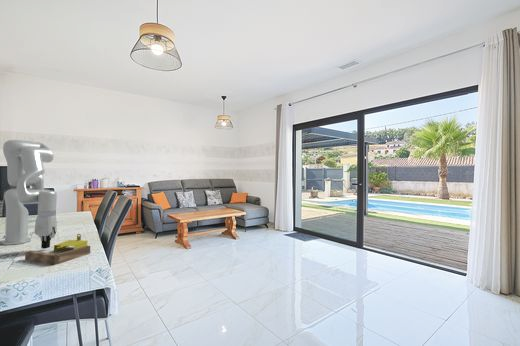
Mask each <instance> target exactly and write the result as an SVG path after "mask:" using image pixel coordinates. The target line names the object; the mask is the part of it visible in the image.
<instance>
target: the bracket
mask: <svg viewBox="0 0 520 346" xmlns="http://www.w3.org/2000/svg"><path fill="white" fill-rule="evenodd" d="M84 246H88V240H84V239H83V240H82V235H81V233H77V235H76V240H75V239H72V240H71V239H69V240H65V241H63V242H59V243H57V244H54V245H53V253H56V252H58V251H60V250H63V249H66V248H69V247H73V249H77V248H80V247H84Z"/></svg>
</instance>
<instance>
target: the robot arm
mask: <svg viewBox="0 0 520 346" xmlns="http://www.w3.org/2000/svg"><path fill="white" fill-rule="evenodd" d="M2 145H3V146H2V151H3V152H2V153H3V156H4V158H5V160H6V167H7V169H6V171H7V183H8V184H9V186H11V187H16V188H12V189H11V188H10V189H8V190H6V191H5V193H4V196H3V197H4V203H5V231H4V234H5V235H3V236H2V238H4V239H3V240H2V241H0V243H1V245H3V246H9V245H11V246H13V245H20V244H25V243H29V242H30V241H32V238H31V237H29V235H28V234H29V232H28V231H29V210H28V209H27V207H25V205H34V204H37V216H36V218H35V224H34V235H35V236H38V237H39V238H40V243H41V246H40V247H41V249H43V250H46V249H48V248H50V247H51V240H52V239H53V238H55V235H56V234H57V231H58V222H57V198H58V193H57V191H56V190H51V189H45V184H44V183H45V181H44V174H45V167H44V163H52V162H53V160H54V153H53V151H52V149H51V148H49V147H48V146H47V145H46V144H44V143H42V142H37V141H29V140H19V139H9V140H6V141H4V143H3V144H2ZM27 187H28V188H27ZM29 187H31V188H29Z"/></svg>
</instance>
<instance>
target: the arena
mask: <svg viewBox="0 0 520 346" xmlns="http://www.w3.org/2000/svg"><path fill="white" fill-rule="evenodd" d="M24 253H25V254H24V255H25V256H24V260H25V261H29V262H34V263H41V264H45V265H46V264H47V265H51V266H52V265H53V266H56V265H58V264H61V263H66V262H68V261H71V260H75V259H77V258H81V257H84V256H87V255H90V254H91V245H87V246H84V247H80V248H77V249H74V248H73V249H70V250H66V251H63V252H60V253H50V252H43V251H35V250H26V251H25V252H24Z"/></svg>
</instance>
